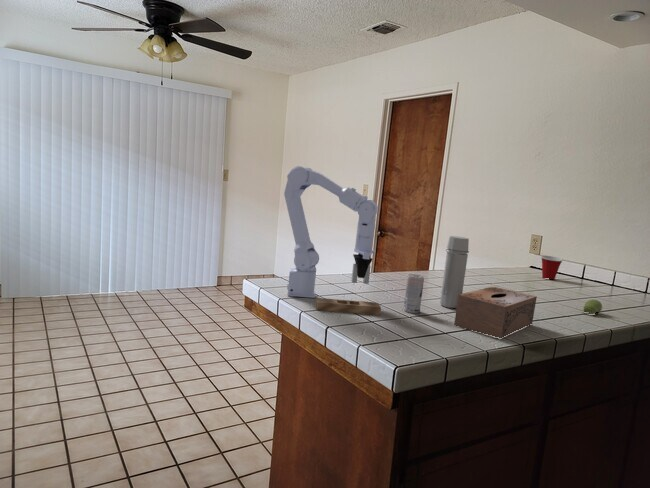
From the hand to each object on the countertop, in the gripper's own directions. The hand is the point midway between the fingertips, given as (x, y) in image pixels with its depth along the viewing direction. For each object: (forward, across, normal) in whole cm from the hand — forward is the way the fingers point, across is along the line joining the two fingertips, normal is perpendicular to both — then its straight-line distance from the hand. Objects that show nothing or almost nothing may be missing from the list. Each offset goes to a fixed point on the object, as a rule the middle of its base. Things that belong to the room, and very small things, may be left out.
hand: (360, 276), depth 151 cm
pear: (+10, +13, -92) cm, 94 cm away
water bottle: (+10, +6, -34) cm, 36 cm away
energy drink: (+10, -4, -18) cm, 20 cm away
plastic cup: (+10, +82, -116) cm, 142 cm away
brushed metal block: (+2, 0, 0) cm, 2 cm away
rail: (+9, -8, +4) cm, 13 cm away
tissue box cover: (+10, -13, -42) cm, 45 cm away
